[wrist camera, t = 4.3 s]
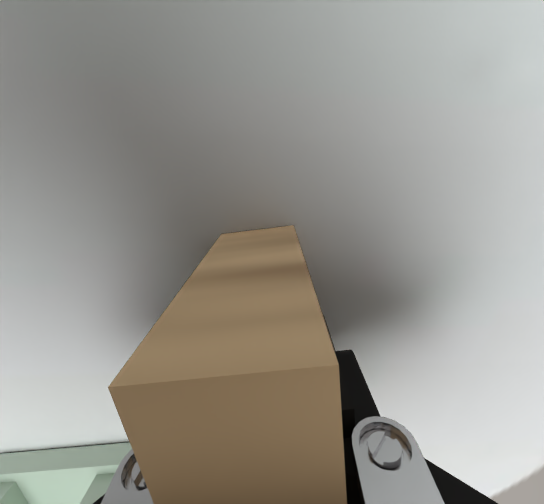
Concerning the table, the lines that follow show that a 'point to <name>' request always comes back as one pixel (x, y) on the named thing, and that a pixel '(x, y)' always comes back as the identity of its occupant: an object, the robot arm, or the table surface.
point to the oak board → (238, 383)
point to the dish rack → (59, 474)
